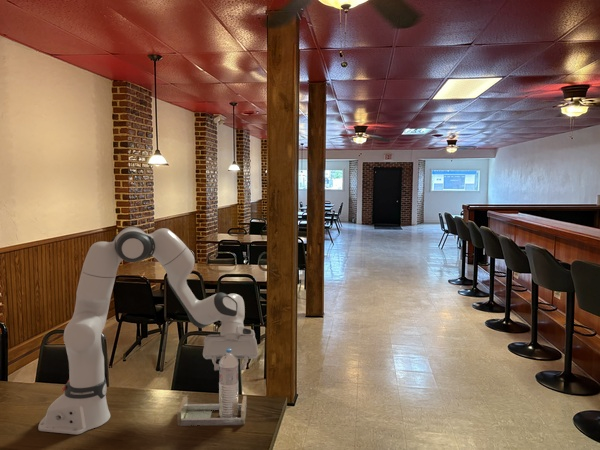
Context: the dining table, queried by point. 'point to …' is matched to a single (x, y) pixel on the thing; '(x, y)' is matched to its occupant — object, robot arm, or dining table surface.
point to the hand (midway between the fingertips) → (229, 369)
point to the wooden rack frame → (206, 414)
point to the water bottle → (228, 385)
